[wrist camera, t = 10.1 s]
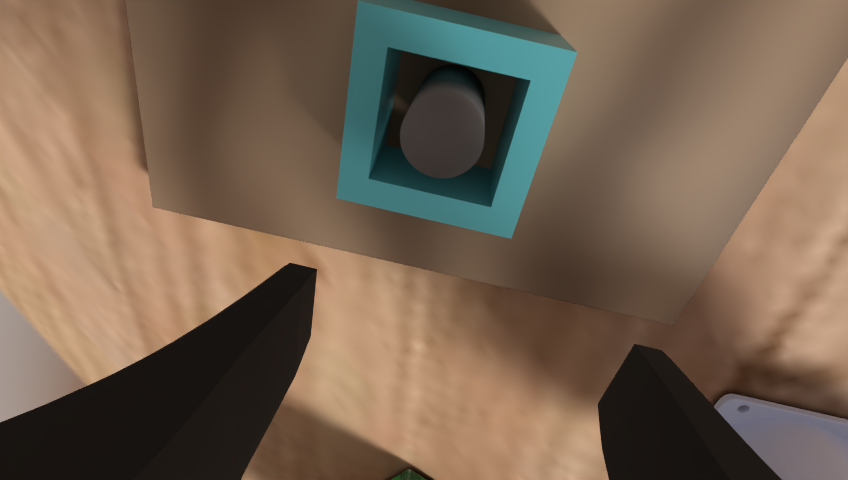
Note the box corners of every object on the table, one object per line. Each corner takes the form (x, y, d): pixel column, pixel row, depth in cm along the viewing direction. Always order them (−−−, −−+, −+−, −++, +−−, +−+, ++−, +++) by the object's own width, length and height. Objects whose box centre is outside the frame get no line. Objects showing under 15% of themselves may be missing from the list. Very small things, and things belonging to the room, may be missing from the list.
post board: (890, -73, 13) (1116, -90, 8) (661, 302, 20) (713, 404, 16) (126, -251, 13) (-76, -367, 8) (173, 191, 20) (80, 261, 16)
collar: (560, 35, 14) (577, 52, 12) (507, 196, 17) (511, 239, 14) (381, -7, 14) (357, 0, 12) (359, 162, 17) (336, 198, 14)
